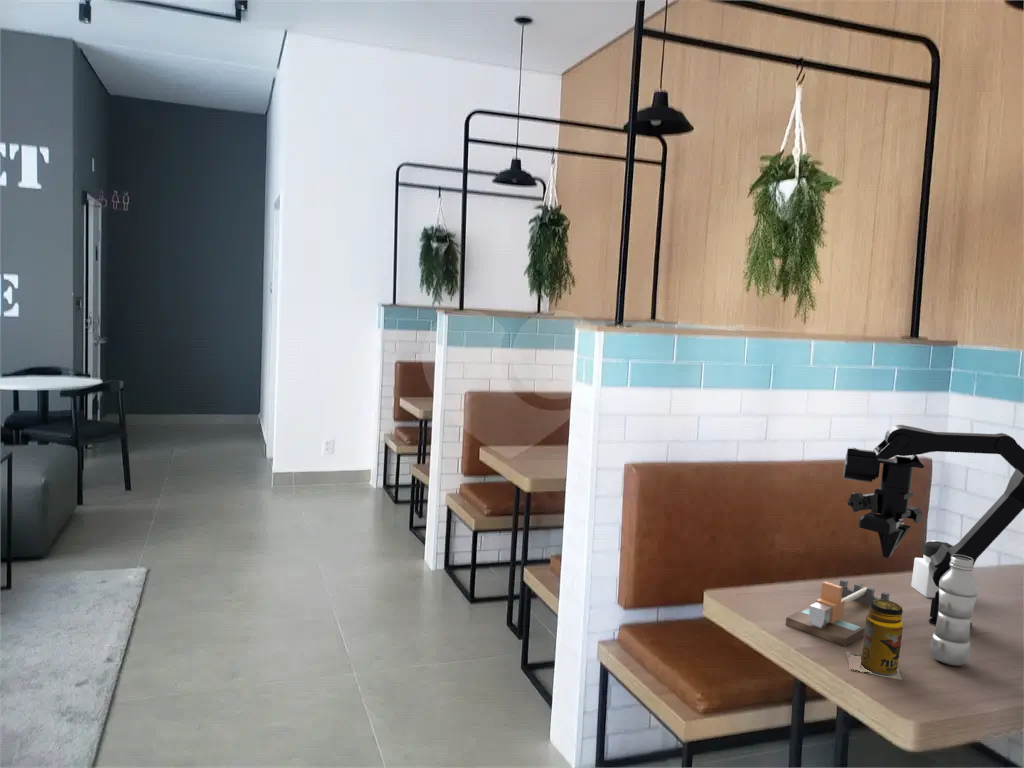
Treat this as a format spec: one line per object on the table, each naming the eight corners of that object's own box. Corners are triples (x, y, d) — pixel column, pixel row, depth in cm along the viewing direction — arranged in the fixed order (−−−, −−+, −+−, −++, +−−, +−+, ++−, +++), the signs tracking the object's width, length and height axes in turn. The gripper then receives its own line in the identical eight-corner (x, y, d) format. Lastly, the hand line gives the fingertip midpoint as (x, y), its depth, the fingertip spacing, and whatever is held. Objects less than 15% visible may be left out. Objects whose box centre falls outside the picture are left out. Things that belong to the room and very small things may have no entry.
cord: (868, 593, 170) (869, 588, 170) (826, 615, 156) (826, 609, 156) (862, 592, 171) (863, 586, 170) (820, 613, 157) (820, 607, 157)
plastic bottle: (958, 655, 150) (972, 553, 147) (975, 672, 143) (990, 565, 141) (922, 651, 150) (935, 550, 148) (937, 668, 144) (952, 562, 141)
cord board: (892, 617, 166) (893, 610, 166) (844, 646, 150) (845, 638, 150) (836, 599, 175) (837, 592, 175) (785, 624, 159) (786, 616, 159)
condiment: (902, 680, 138) (910, 614, 137) (849, 670, 141) (857, 606, 139) (895, 662, 145) (903, 599, 144) (845, 653, 147) (853, 591, 146)
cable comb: (887, 609, 167) (889, 593, 166) (885, 610, 166) (887, 594, 165) (840, 594, 174) (842, 579, 173) (838, 595, 173) (840, 580, 172)
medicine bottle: (957, 600, 179) (964, 548, 178) (925, 598, 179) (932, 546, 178) (940, 588, 186) (947, 539, 185) (910, 586, 186) (916, 536, 185)
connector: (829, 626, 156) (831, 607, 155) (822, 630, 154) (824, 610, 153) (814, 621, 158) (817, 602, 157) (807, 625, 156) (810, 605, 155)
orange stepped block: (843, 617, 159) (846, 584, 158) (831, 623, 155) (835, 590, 155) (825, 611, 161) (829, 579, 161) (814, 617, 158) (818, 584, 157)
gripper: (874, 472, 178) (866, 539, 180) (837, 482, 165) (829, 554, 167) (927, 483, 170) (918, 553, 172) (892, 494, 157) (883, 570, 159)
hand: (886, 557), depth 168 cm, fingers closed
